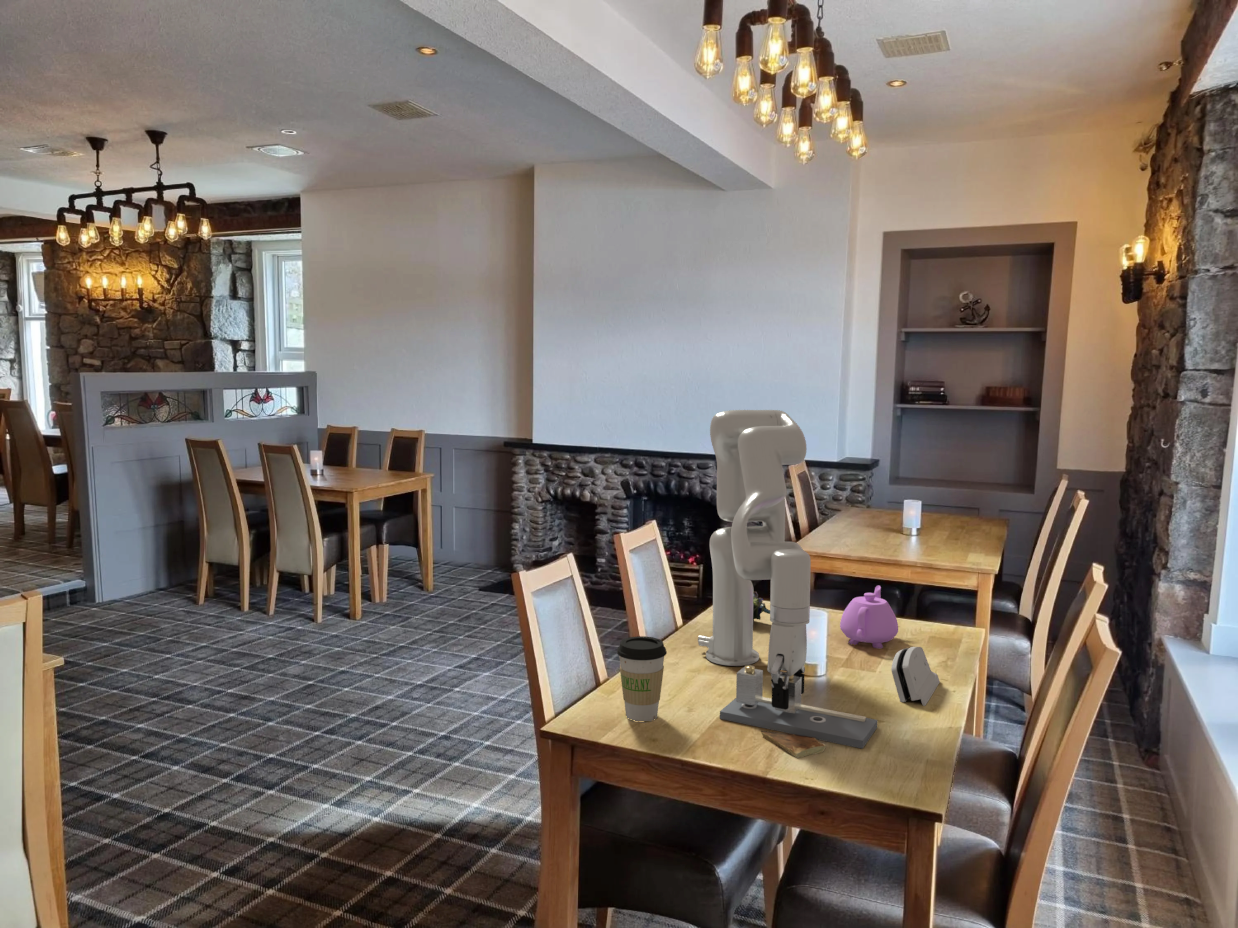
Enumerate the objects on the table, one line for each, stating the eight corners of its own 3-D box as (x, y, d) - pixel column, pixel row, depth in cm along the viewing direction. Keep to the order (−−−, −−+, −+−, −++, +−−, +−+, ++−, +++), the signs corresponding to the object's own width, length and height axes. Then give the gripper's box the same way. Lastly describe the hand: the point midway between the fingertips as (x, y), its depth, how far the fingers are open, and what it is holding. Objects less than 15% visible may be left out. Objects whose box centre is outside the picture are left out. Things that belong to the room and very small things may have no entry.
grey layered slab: (925, 706, 179) (909, 658, 180) (902, 709, 181) (887, 662, 182) (940, 681, 193) (925, 637, 194) (919, 684, 196) (904, 641, 196)
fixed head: (736, 704, 175) (736, 667, 174) (743, 698, 178) (744, 662, 177) (755, 708, 173) (755, 671, 172) (762, 702, 176) (762, 665, 175)
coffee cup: (609, 711, 177) (609, 638, 175) (653, 703, 180) (653, 632, 179) (629, 729, 168) (629, 653, 166) (674, 721, 171) (675, 646, 170)
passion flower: (750, 640, 241) (777, 606, 240) (742, 644, 231) (770, 609, 229) (719, 613, 245) (745, 580, 243) (709, 616, 235) (737, 581, 233)
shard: (760, 738, 165) (760, 728, 165) (793, 731, 168) (794, 722, 168) (795, 761, 155) (795, 751, 155) (829, 753, 158) (830, 743, 158)
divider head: (774, 712, 171) (775, 674, 170) (781, 705, 174) (782, 668, 173) (794, 716, 169) (795, 678, 168) (800, 709, 172) (801, 672, 171)
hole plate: (719, 718, 173) (719, 708, 172) (740, 700, 182) (740, 691, 182) (862, 748, 159) (862, 737, 159) (877, 727, 168) (877, 717, 168)
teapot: (851, 626, 235) (852, 581, 234) (906, 634, 228) (907, 587, 227) (830, 647, 218) (831, 598, 216) (889, 656, 211) (890, 605, 209)
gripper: (785, 600, 179) (784, 683, 180) (755, 621, 164) (753, 711, 165) (822, 605, 175) (820, 689, 177) (793, 627, 160) (792, 718, 162)
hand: (788, 699), depth 171 cm, fingers open, 8 cm apart
